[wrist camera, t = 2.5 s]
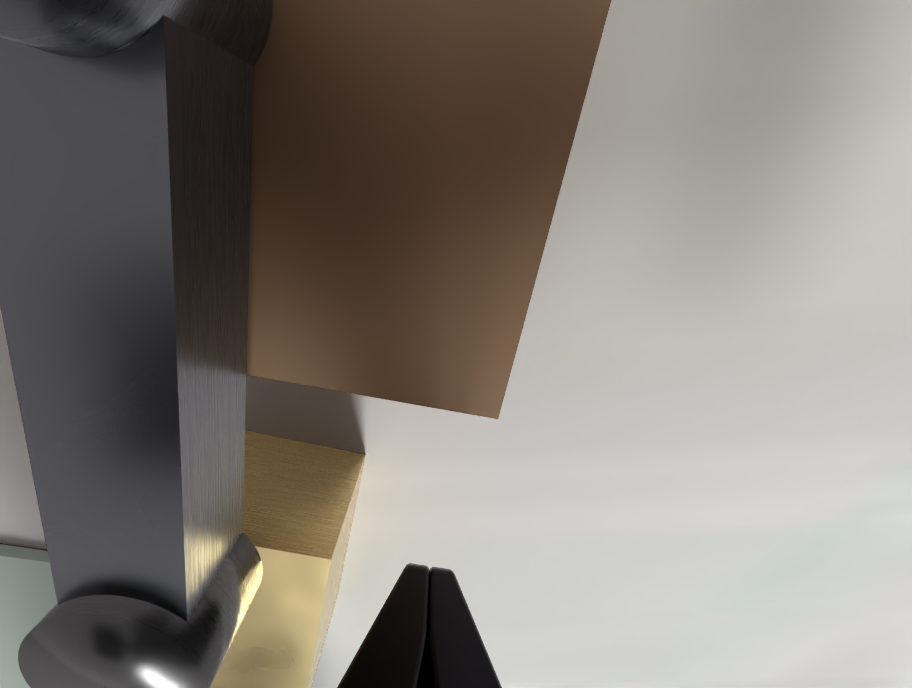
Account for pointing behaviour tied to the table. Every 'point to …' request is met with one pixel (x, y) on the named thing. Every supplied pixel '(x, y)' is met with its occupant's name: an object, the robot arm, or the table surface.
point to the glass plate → (21, 604)
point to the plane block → (408, 189)
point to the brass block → (291, 558)
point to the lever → (131, 324)
